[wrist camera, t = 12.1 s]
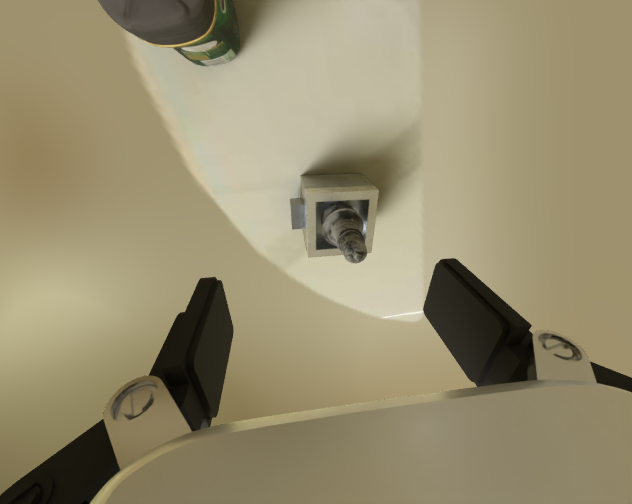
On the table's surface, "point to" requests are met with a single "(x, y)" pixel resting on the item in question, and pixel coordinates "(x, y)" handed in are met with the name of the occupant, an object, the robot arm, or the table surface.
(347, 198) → the grey open box
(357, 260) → the dark grey turned piece
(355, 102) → the table surface
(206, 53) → the coffee jar
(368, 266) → the table surface
